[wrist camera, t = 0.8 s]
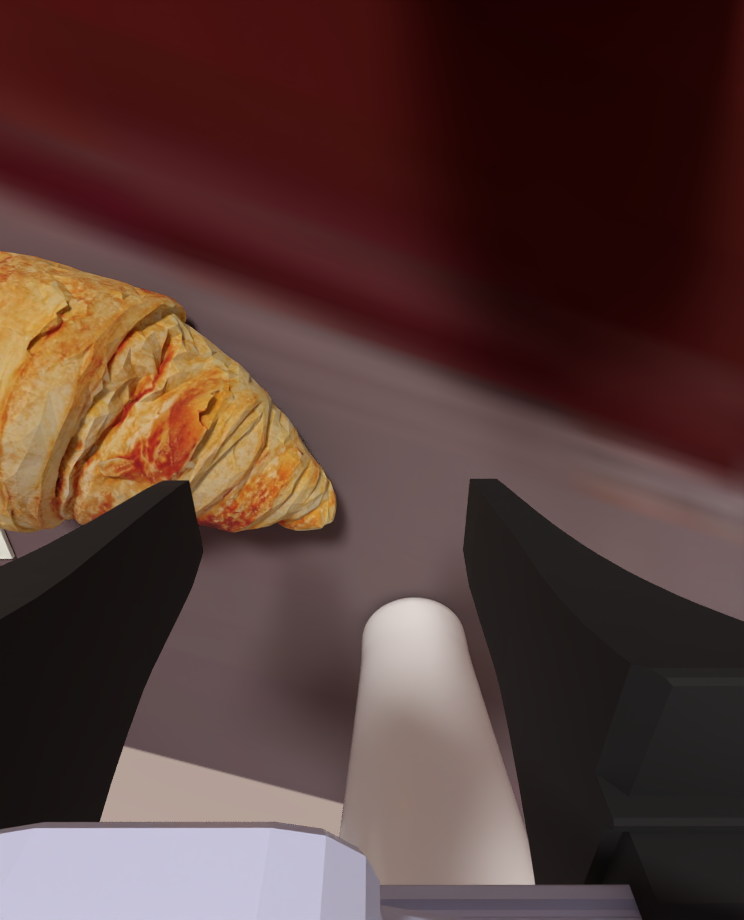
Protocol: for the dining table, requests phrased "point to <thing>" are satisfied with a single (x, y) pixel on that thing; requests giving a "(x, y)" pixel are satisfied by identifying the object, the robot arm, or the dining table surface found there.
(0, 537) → the mat
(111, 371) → the croissant
